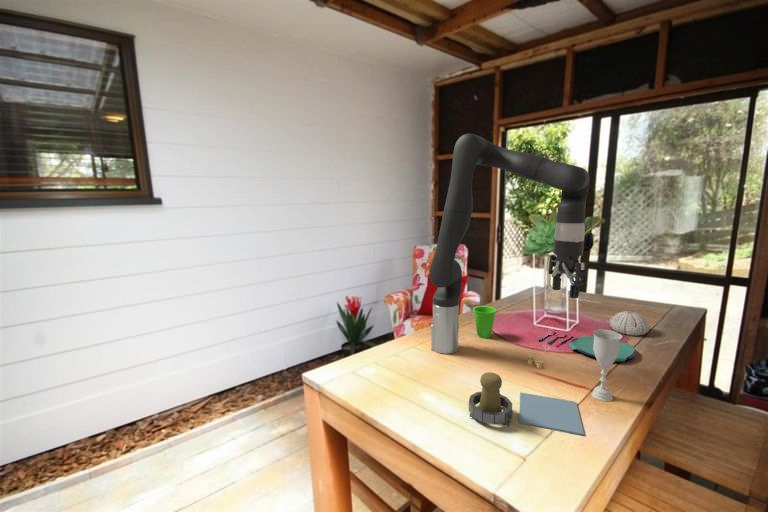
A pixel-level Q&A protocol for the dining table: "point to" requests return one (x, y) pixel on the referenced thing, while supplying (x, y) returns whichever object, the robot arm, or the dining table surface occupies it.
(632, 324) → the sea urchin shell
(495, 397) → the cork
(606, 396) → the chalice
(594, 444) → the dining table surface
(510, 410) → the grey segmented ring
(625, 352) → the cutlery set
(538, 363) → the dice set
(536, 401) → the rubber mat
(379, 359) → the dining table surface
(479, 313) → the cup
